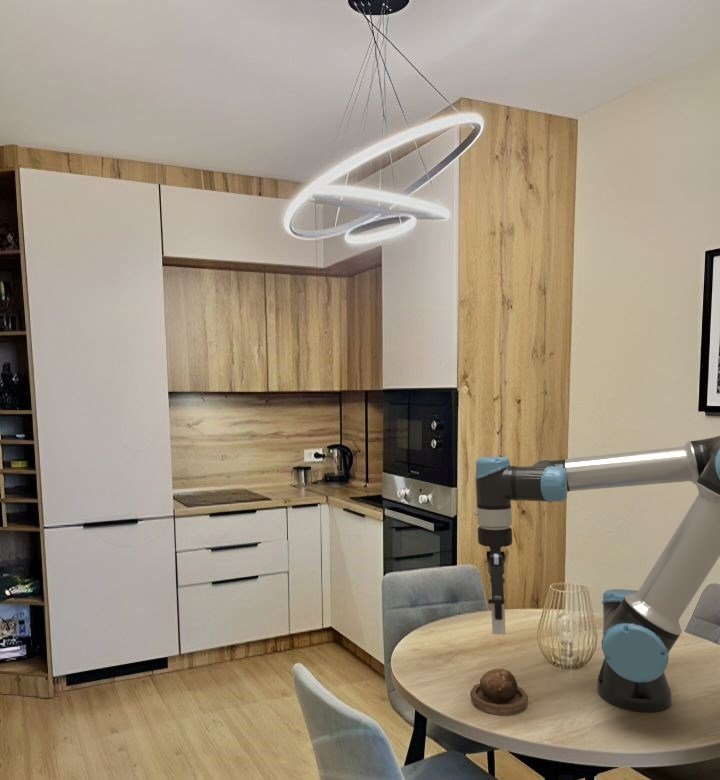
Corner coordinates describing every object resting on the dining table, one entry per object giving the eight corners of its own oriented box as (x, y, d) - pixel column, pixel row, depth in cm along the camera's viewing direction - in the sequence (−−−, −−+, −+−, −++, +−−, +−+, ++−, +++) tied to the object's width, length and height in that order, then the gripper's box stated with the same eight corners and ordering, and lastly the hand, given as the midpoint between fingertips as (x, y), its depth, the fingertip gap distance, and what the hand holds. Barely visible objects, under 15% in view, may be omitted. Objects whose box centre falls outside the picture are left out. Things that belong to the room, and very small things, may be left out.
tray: (538, 704, 131) (538, 696, 131) (500, 721, 125) (499, 712, 125) (497, 684, 141) (497, 676, 141) (460, 698, 135) (460, 690, 135)
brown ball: (493, 670, 140) (494, 655, 136) (523, 692, 135) (525, 677, 131) (472, 695, 135) (473, 681, 132) (503, 719, 130) (504, 705, 127)
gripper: (477, 516, 147) (481, 604, 146) (477, 537, 123) (480, 643, 122) (509, 516, 146) (512, 605, 145) (514, 538, 121) (518, 644, 120)
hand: (498, 622), depth 133 cm, fingers open, 13 cm apart
